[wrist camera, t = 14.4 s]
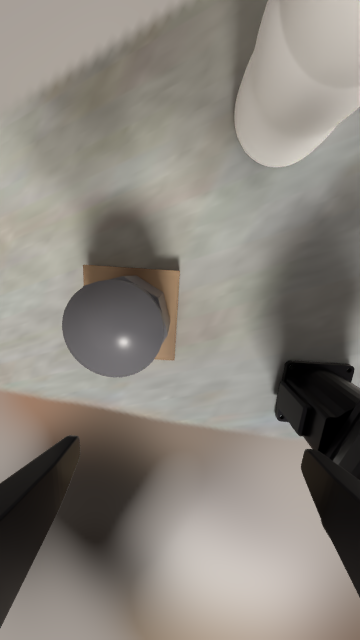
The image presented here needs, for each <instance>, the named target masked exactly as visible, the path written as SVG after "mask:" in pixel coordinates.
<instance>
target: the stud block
mask: <svg viewBox="0 0 360 640" xmlns="http://www.w3.org/2000/svg"><path fill="white" fill-rule="evenodd" d="M83 275H84V285H88V284H91V283H94V282H97V281H103V280H109V279H113V278H117V277H121V276H133V275H136V276H138V277H140V278H141V279H143V280H144V281H146V282H148V283H149V284H151V285H152V286H154V287H156V288H157V289H159V290H161V291H162V292H163V293H164V297H165V301H166V305H167V309H168V313H169V317H170V326H169V331H168V336H167V337H166V339H165V340H164V342H163V344H162V345H161V348H160V350H159V352H158V354H157V356H156V357H155V359H159V360H174V358H175V342H176V325H177V309H178V292H179V276H180V271H173V270H157V269H142V268H126V267H111V266H95V265H83Z"/></svg>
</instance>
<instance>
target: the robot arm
mask: <svg viewBox="0 0 360 640" xmlns="http://www.w3.org/2000/svg"><path fill="white" fill-rule="evenodd" d="M290 365H293V366H292V367H291V368H289V367H290ZM347 369H348V370H347ZM346 370H347V371H346ZM353 374H354V367H353V366H351V365H349V364H339V363H322V362H306V361H288V362H286V363H285V367H284V372H283V377H282V381H281V382H280V386H279V391H278V396H277V402H276V405H277V409H276V414H275V416H276V418H277V419H278V420H279V421H283V422H289V423H290V424H291V426H292V427H293V429H294V430H295V431H296V433H297V434H298V435H299V436H303V437H304V438H305V440H306V441H307V442H308V443H309V445H310V446H311V448H312V449H306V450H305V451H304V455H303V459H302V464H301V470H302V473H303V476H304V478H305V481H306V483H307V486H308V488H309V491H310V493H311V496H312V498H313V501H314V503H315V505H316V508H317V511H318V513H319V515H320V518H321V522H322V525H323V527H324V529H325V530H326V533H327V534H328V535H329V537H330V539H331V540H332V542H333V544H334V546H335V548H336V550H337V552H338V554H339V556H340V558H341V560H342V562H343V565H344V567H345V569H346V570H347V573H348V574H349V577H350V579H351V580H352V583H353V585H354V587H355V589H356V590H357V593H358V594H359V597H360V388H359V387H357V386H355V385H354V384H352V383H351V381H352V377H353ZM281 415H282V416H281ZM280 416H281V417H280ZM79 458H80V439H79V437H78V436H71V435H70V436H67V437H65V438H64V439H62V440H61V441H59V442H58V443H57V444H55V445H54V446H52V447H51V448H50V449H48V450H47V451H45V452H44V453H43V454H41V455H40V456H38V457H37V458H35V459H34V460H33V461H31V462H30V463H28V464H27V465H26V466H24V467H23V468H21V469H20V470H19V471H17V472H16V473H14V474H13V475H11V476H10V477H9V478H7V479H6V480H4V481H3V482H2V483H0V628H1V626H2V624H3V622H4V620H5V618H6V616H7V614H8V612H9V609H10V608H11V606H12V604H13V602H14V599H15V598H16V596H17V594H18V592H19V589H20V587H21V585H22V583H23V581H24V579H25V577H26V575H27V573H28V571H29V569H30V567H31V565H32V563H33V561H34V559H35V557H36V555H37V553H38V551H39V549H40V547H41V545H42V543H43V541H44V539H45V537H46V535H47V533H48V531H49V529H50V527H51V525H52V523H53V521H54V519H55V517H56V515H57V512H58V510H59V508H60V506H61V504H62V501H63V499H64V497H65V494H66V491H67V489H68V486H69V484H70V481H71V478H72V476H73V474H74V471H75V468H76V466H77V463H78V461H79Z"/></svg>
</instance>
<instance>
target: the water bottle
mask: <svg viewBox="0 0 360 640" xmlns="http://www.w3.org/2000/svg"><path fill="white" fill-rule="evenodd" d="M359 107H360V0H268V2H267V5H266V8H265V11H264V14H263V17H262V21H261V24H260V28H259V32H258V36H257V40H256V45H255V49H254V51H253V54H252V56H251V58H250V60H249V63H248V65H247V68H246V70H245V73H244V76H243V79H242V82H241V85H240V88H239V91H238V94H237V99H236V104H235V113H234V121H235V129H236V133H237V137H238V140H239V142H240V144H241V146H242V148H243V149H244V151H245V152H246V153H247V154H248V155H249V156H250V157H251V158H252V159H253V160H254V161H256V162H257V163H259V164H262V165H264V166H268V167H285V166H289V165H292V164H294V163H296V162H298V161H300V160H302V159H303V158H305V157H306V156H307V155H309V154H310V153H311V152H312V151H313V150H314V149H315V148H317V147H318V146H319V145H320V144H321V143H322V142H323V141H324V140H325V139H326V138H327V137H328V136H329V134H330V133H331V132H332V131H333V130H334V129H335V128H336V127H337V125H338V124H339V123H340V122H341V121H343V120H344V119H345V118H347V117H348V116H349V115H351V114H352V113H353V112H354V111H356V110H357V109H358V108H359Z"/></svg>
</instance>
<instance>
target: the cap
mask: <svg viewBox="0 0 360 640" xmlns="http://www.w3.org/2000/svg"><path fill="white" fill-rule="evenodd" d="M169 326H170V317H169V313H168V309H167V305H166V301H165V297H164V293H163V292H162V291H161V290H159V289H157V288H156V287H154V286H152V285H151V284H149V283H148V282H146V281H144V280H143V279H141V278H140V277H138V276H136V275H133V276H121V277H117V278H113V279H109V280H103V281H97V282H94V283H91V284H88V285H84V286H83V288H82V289H80V290H79V291H78V292H76V293H75V294H74V295H73V297H72V298H71V299H70V301H69V302H68V304H67V306H66V308H65V311H64V315H63V321H62V330H63V336H64V339H65V342H66V345H67V347H68V349H69V350H70V352H71V354H72V355H73V356H74V357H75V359H76V360H77V361H78V362H79V363H80V364H82V365H83V366H84V367H86V368H87V369H89V370H90V371H92V372H95V373H97V374H100V375H103V376H108V377H125V376H129V375H133V374H135V373H138V372H140V371H141V370H143V369H145V368H146V367H147V366H148V365H149V364H150V363H151V362H152V361H153V360H154V359H155V357H156V356H157V354H158V352H159V350H160V348H161V345H162V344H163V342H164V340H165V339H166V337H167V336H168V331H169Z"/></svg>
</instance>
